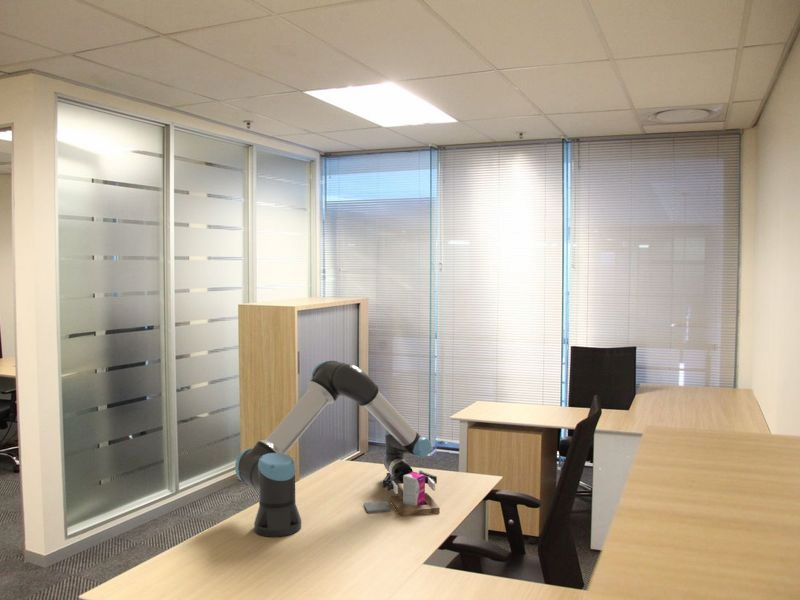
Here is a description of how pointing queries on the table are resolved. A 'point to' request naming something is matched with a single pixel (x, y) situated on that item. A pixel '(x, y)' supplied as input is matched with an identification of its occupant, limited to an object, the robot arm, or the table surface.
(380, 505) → the coaster
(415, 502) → the supplement box
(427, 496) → the board
